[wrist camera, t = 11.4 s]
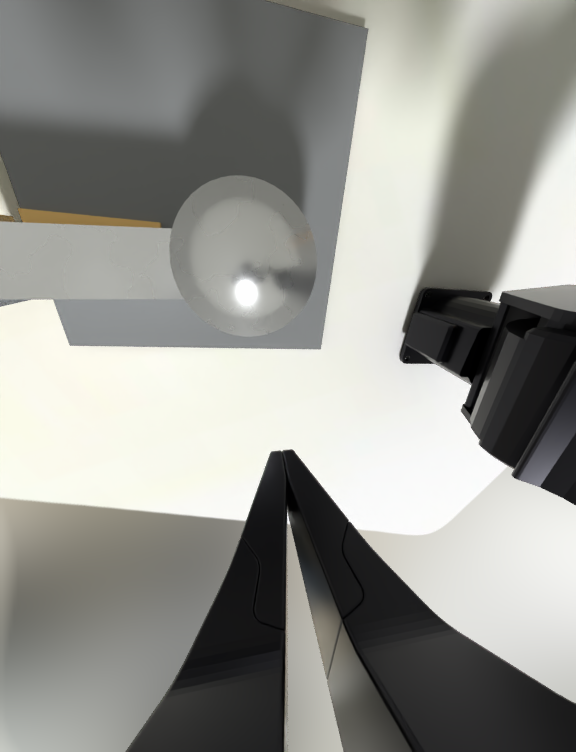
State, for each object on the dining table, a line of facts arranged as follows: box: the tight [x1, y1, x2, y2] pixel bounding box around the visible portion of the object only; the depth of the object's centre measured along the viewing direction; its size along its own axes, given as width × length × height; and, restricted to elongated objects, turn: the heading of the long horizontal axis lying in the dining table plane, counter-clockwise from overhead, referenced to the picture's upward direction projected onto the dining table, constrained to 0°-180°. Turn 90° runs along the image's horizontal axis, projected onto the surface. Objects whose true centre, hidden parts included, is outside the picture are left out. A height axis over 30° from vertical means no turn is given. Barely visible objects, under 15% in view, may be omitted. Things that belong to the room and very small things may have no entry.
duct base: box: [0, 0, 368, 349], centre depth 13 cm, size 18×17×3 cm
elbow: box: [0, 175, 317, 337], centre depth 13 cm, size 16×7×4 cm, turn 88°
